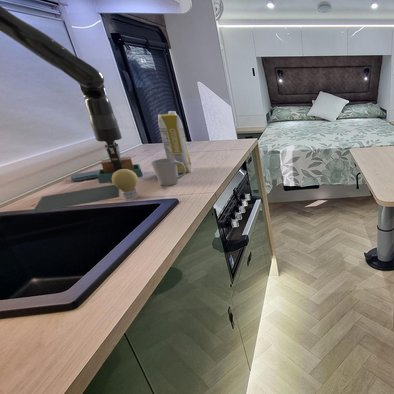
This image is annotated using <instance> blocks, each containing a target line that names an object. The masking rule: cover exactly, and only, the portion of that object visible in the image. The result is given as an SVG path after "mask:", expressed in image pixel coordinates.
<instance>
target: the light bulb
mask: <svg viewBox="0 0 394 394" xmlns="http://www.w3.org/2000/svg"><path fill="white" fill-rule="evenodd" d="M138 181H139V177H137V175H136V174H135V173H134V172H133V171H131V170H128V169H121V170H118V171H116V172H114V173H113V175H112V181H111V183H112V185H115V186H116V187H117V188H119V191H121V194H122V197H123V198H122V199H123V201H133V200H136V199H138V198H139V195H138V192H137V189H136V186H137V184H138Z"/></svg>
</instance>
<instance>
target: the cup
mask: <svg viewBox="0 0 394 394" xmlns="http://www.w3.org/2000/svg"><path fill="white" fill-rule="evenodd" d="M177 164H181V165H182V166H183V168H184V173H181V174H180V175H179V174H178V173H177ZM151 166H152V168H153V171H154V173H155V176H156V178H157V180H158V182H159V185H160V186H163V187H169V186H174V185H176V184H178V183H179V180H181V179H182V178H183V177H184V176H185V175H186V173H187V172H186V169H185V166H184V164H183V163H182V162H179V161H176V159H173V158H167V157H166V158H160V159H156V160H153V161H151ZM185 172H186V173H185Z"/></svg>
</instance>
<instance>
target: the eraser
mask: <svg viewBox="0 0 394 394" xmlns="http://www.w3.org/2000/svg"><path fill="white" fill-rule="evenodd" d="M119 159H120V161H121V166H122V169H128V170H134V167H133V165H134V164H133V161H132V157H131V156H123V157H120V158H119ZM113 160H118V159H117V158H114V159H113ZM100 164H101V167H102V169H103V170H104V173H105V174H108V173H114V172H115V169H114V165H113V164H112V163H111V159H110V158H108V159H107V158H106V159H101V161H100Z"/></svg>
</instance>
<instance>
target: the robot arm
mask: <svg viewBox="0 0 394 394" xmlns="http://www.w3.org/2000/svg"><path fill="white" fill-rule="evenodd" d="M0 32H1V33H2V34H5V35H6V36H7V37H9V38H10V39H12V40H13V41H15V42H16V43H18V44H19V45H21V46H22V47H24V48H25V49H27V50H28V51H30V52H31V53H33V54H34V55H35V56H37V57H39V58H40V59H41V60H43V61H45V62H46V63H47V64H49V65H50V66H52V67H54V68H56V69H57V70H60V71H61V72H63V73H64V74H66V75H67V76H68V77H70V78H71V79H73V80H74V81H75V82H77V85H78V87H79V89H80V92H81V94H82V97H83V99H84V104H85V105H84V106H85V107H86V111H87V114H88V117H89V122H90V123H89V124H90V126H91V128H92V132H93V134H94V137H95V140H96V141H97V142H99V143H101V142H102V143H103V142H104V143H105V144H104V150H105V151H106V153H107V157H108V159H111V163H112V164H113V165H114V169H115V172H116V171H118V170H121V169H122V166H121V161H120V159H119V158H121V152H120V147H119V143H117V142H116V141H119V140H121V139H122V138H123V137H122V134H121V130H120V127H119V123H118V119H117V118H116V115H115V112H114V110H113V106H112V103H111V101H110V99H109V98H108V95H107V91H106V88H105V78H104V76H103V74H102V73H101V72H100V71H99V70H98V69H97V68H95V67H94V66H92V65H91V64H89V63H88V62H86V61H84V60H83V59H82V58H80V57H79V56H76V55H75V54H73V53H72V52H71V51H70V50H69V49H68V48H66V47H65V46H64V45H62V44H61V43H59V42H58V41H56V40H55V39H54V38H52V37H51V36H49V35H48V34H46V33H45V32H43V31H41V30H40V29H39V28H36V27H35V26H33V25H31V24H30V23H28V22H26V21H24V20H22V18H19V17H17V16H16V15H14V14H13V13H12V12H10V11H9V10H7V9H6V8H5V7H3V6H2V5H0ZM114 158H117V159H118V160H113V159H114Z"/></svg>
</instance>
